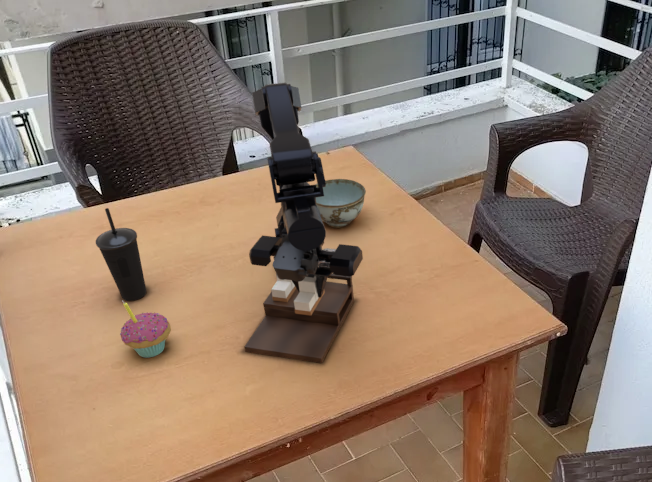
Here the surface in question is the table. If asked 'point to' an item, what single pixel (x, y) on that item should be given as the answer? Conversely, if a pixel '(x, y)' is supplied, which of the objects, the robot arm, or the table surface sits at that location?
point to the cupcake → (145, 332)
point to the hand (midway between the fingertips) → (311, 295)
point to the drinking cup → (123, 260)
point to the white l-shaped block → (283, 290)
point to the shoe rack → (303, 324)
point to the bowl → (340, 201)
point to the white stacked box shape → (307, 296)
